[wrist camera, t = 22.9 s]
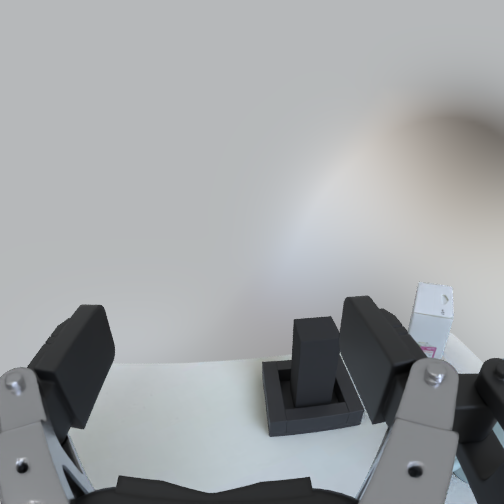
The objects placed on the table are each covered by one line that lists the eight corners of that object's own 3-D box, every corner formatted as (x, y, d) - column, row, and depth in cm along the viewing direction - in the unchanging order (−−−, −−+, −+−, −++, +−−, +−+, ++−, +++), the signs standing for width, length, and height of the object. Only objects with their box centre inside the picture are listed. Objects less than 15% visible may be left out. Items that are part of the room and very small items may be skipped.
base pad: (269, 437, 29) (270, 422, 28) (262, 376, 38) (262, 361, 37) (359, 424, 29) (364, 410, 28) (337, 369, 38) (340, 354, 38)
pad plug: (294, 412, 31) (300, 341, 28) (289, 388, 35) (293, 318, 32) (329, 407, 31) (342, 337, 28) (322, 384, 35) (331, 315, 32)
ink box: (401, 352, 40) (418, 278, 36) (432, 359, 38) (453, 284, 34) (390, 391, 33) (413, 309, 29) (427, 398, 31) (456, 317, 27)
